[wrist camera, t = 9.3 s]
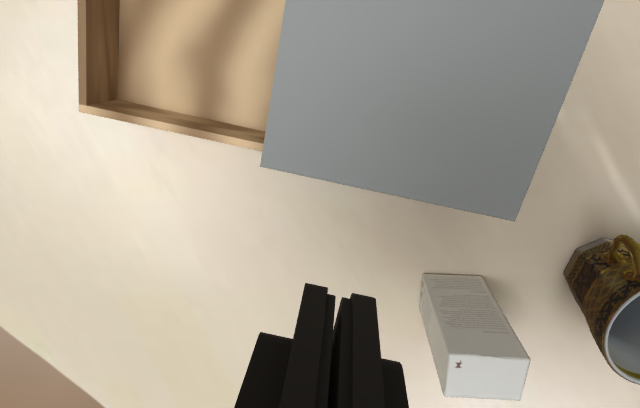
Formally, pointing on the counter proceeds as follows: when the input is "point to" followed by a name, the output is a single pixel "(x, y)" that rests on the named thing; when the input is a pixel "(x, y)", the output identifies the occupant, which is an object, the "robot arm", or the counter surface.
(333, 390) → the robot arm
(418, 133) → the sleeve
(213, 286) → the counter surface
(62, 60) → the counter surface
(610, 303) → the ceramic cup
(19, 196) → the counter surface
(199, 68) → the tray
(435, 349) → the skincare box
